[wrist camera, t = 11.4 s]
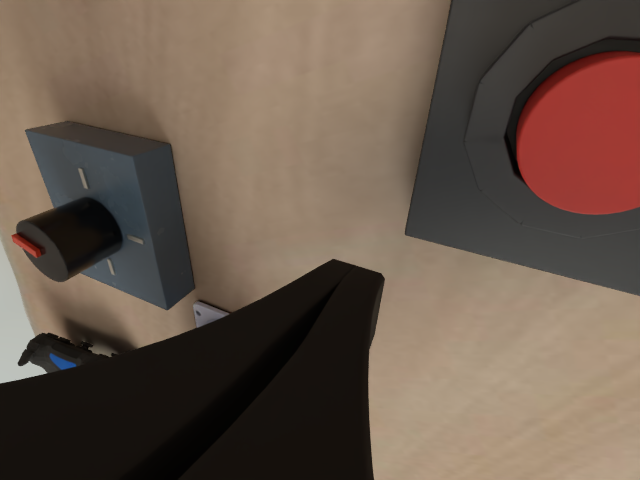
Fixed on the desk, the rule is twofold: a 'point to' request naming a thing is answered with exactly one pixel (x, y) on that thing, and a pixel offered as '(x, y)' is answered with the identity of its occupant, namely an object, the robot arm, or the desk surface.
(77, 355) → the gaming controller
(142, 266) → the dial panel
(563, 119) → the lid button
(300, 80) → the desk surface
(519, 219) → the button housing
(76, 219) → the dial
